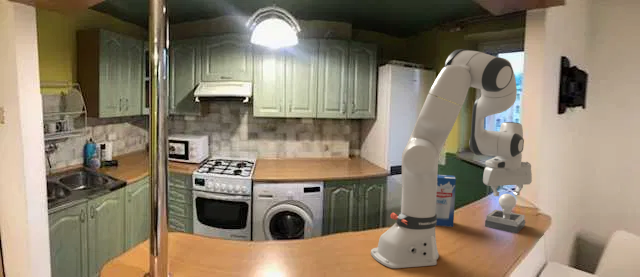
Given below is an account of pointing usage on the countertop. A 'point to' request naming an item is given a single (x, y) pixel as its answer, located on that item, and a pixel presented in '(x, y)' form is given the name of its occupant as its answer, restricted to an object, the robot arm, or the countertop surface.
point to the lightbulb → (507, 204)
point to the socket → (505, 221)
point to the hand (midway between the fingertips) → (506, 195)
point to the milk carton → (445, 200)
